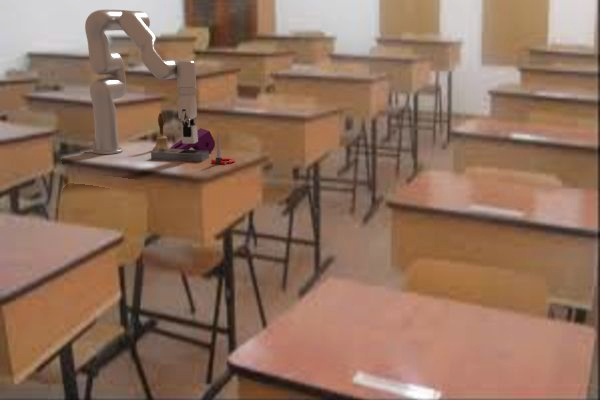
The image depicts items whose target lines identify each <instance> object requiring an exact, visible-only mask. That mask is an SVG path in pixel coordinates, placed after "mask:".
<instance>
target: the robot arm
mask: <svg viewBox="0 0 600 400" xmlns="http://www.w3.org/2000/svg"><path fill="white" fill-rule="evenodd" d="M84 23H85V24H84V31H85V36H86V40H87V47H88V50H87V51H88V56H89V57H88V58H89V64H90V65H89V67H90V69H91V71H92V73H94V74H95V75H98V76H103V75H105V77H103V78H102V77H101V78H98V79H95V80H94V81H92V82H91V84H90V86H89V95H90V99H91V103H92V110H93V125H94V139H95V140H94V141H88V142H87V147H91V148H93V149H92V150H91V151H92V153H93V154H96V155H111V154H112V155H113V154H118V153H122V152H123V147H120V146H119V134H118V132H119V131H118V117H117V116H118V115H117V109H116V108H117V107H116V105H115V103H114V100H116V99H121V98H123V96H125V94H126V91H127V79H126V69H125V64H124V63H125V62H124V59H123V58H122V56H121V55H120V54H119V53H118V52H116V51H112V50H111V51H110V42H109V40H108V39H109V38H108V36H107V35H106V34H105V32H106V31H107V32H108V31H112V32H113V31H122V32H124V33H125V34H126V35H127V36H128V38H129V39H130V40H131V41H132V43H134V45H135V46H136V48H138V49H139V54H140V57H141V60H142V63H143V64H144V67H146V68H147V70H148V71H149V73H151V74H152V75H153V76H154V77H155V78H157V79H159V80H169V79H176V81H177V95H178V102H177V103H178V104H177V107H178V108H177V109H178V111H177V113H178V120H179V121H180V122H181V124H182V125H181V126H182V127H183V137H191V127H190V125H197V124H196V118H197V117H198V107H197V106H198V105H197V98H196V97H197V93H198V92H197V90H198V89H197V72H196V71H197V70H196V62H195V61H194V60H188V59H187V60H185V59H184V60H179V59H165V60H163V59H162V57H161V56H160V55H159V54H158V53H157V51H156V49H155V47H154V45H155V43H156V42H157V37H156V35H155V33H153V32H152V31H151V29H150V26H151V21H150V18H149V16H148V15H147V14H146V12H144V11H142V10H141V11H139V10H124V9H98V10H95V11H93V12H91V13H90V14H89V15H88V16H87V17H86V20H85V22H84Z"/></svg>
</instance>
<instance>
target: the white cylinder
mask: <svg viewBox="0 0 600 400" xmlns="http://www.w3.org/2000/svg"><path fill="white" fill-rule="evenodd" d="M190 127H191V137H183V127H182V125H181V127H180V128H181V140H182V143H186V144H194V143H196V142H198V132H197V130H198V124H195V125H190Z"/></svg>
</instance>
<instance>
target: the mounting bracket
mask: <svg viewBox="0 0 600 400" xmlns="http://www.w3.org/2000/svg"><path fill="white" fill-rule="evenodd" d="M197 132H198V142H196V143H194V144H186V143H182V139H181V140H179V141H177V142H175V143H174V144H172V145H171V146H170V147H171V148H170V149H184V150H191V148H192V150H208V151H209V152H210V153H211V152H213V150H214V149H215V147H216V141H215V139H214V138H213V135H212V133H211V131H210V130H208V129H205V128H202V127H201V128H199V129H197Z"/></svg>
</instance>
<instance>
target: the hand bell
mask: <svg viewBox="0 0 600 400" xmlns="http://www.w3.org/2000/svg"><path fill="white" fill-rule="evenodd" d="M157 123H158V126H159V136H158V137H156V143H155V146H154V147H152V150H153V151H155V150H157V149H159V148H161V149H170V148H171V147H172V146H171V145H170V143H169V141H168V137H167V136H165V135H164V132H165V131H164V124H165V118H164V116H163V113H162V112H161V113H158V117H157Z"/></svg>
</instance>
